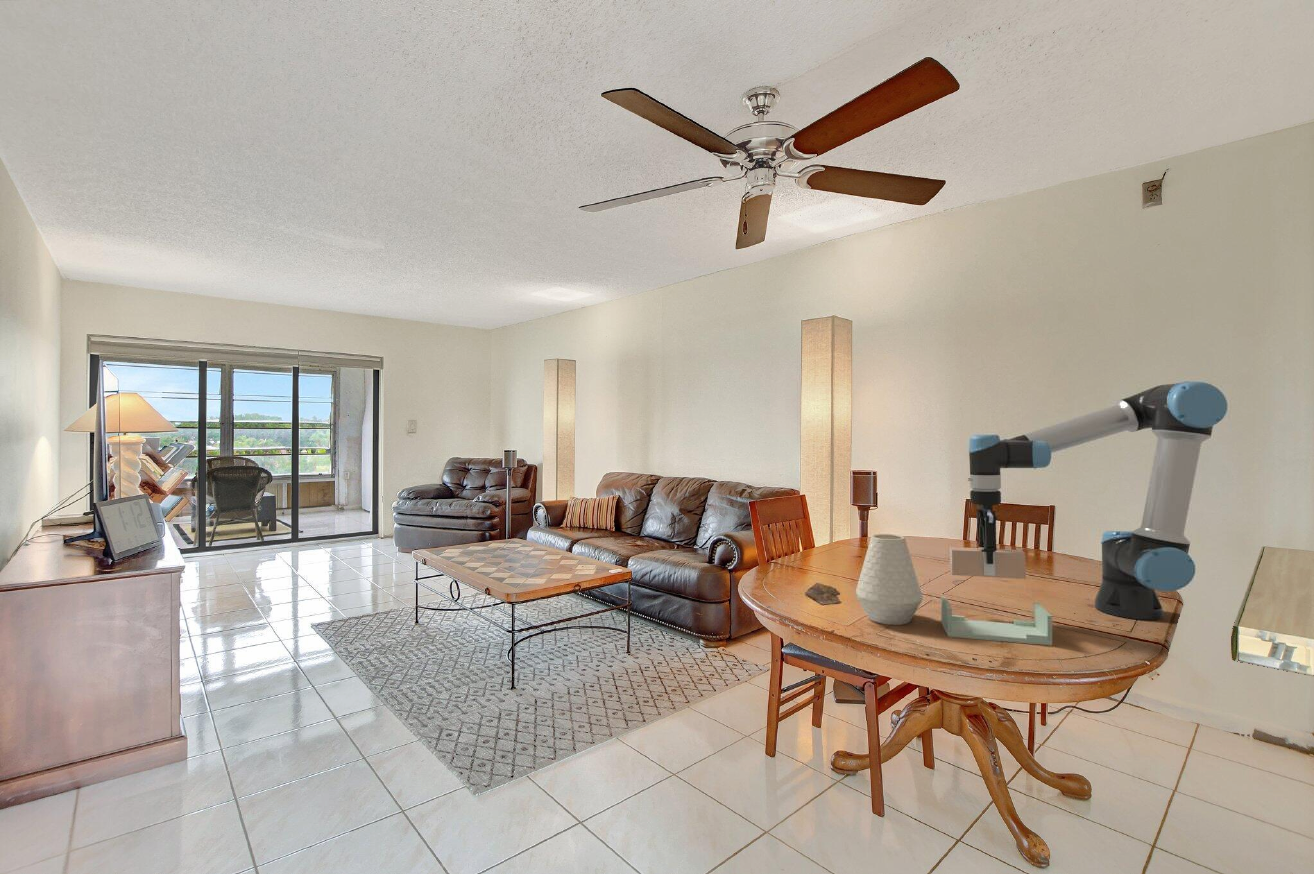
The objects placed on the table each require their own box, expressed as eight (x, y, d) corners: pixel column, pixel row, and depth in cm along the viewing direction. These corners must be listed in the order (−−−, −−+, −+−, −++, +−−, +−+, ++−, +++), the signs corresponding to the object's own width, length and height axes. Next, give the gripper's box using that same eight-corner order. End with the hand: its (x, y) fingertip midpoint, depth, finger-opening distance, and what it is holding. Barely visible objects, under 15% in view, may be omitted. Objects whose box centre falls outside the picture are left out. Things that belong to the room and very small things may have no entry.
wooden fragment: (842, 607, 177) (842, 603, 177) (804, 605, 179) (804, 601, 179) (837, 585, 202) (837, 582, 201) (804, 583, 204) (804, 580, 204)
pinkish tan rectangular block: (1021, 575, 164) (1021, 550, 164) (1025, 579, 160) (1025, 553, 160) (950, 571, 170) (949, 547, 170) (952, 574, 166) (951, 550, 165)
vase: (876, 631, 155) (875, 544, 154) (844, 611, 172) (844, 532, 172) (936, 626, 157) (935, 541, 157) (899, 607, 175) (899, 530, 174)
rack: (1038, 630, 154) (1038, 602, 154) (1052, 645, 143) (1052, 616, 143) (941, 622, 161) (941, 596, 161) (947, 636, 150) (947, 608, 150)
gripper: (964, 486, 174) (966, 565, 174) (976, 493, 157) (978, 580, 157) (993, 486, 172) (995, 566, 172) (1008, 493, 155) (1010, 581, 155)
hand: (987, 572), depth 165 cm, fingers closed on pinkish tan rectangular block, 4 cm apart
